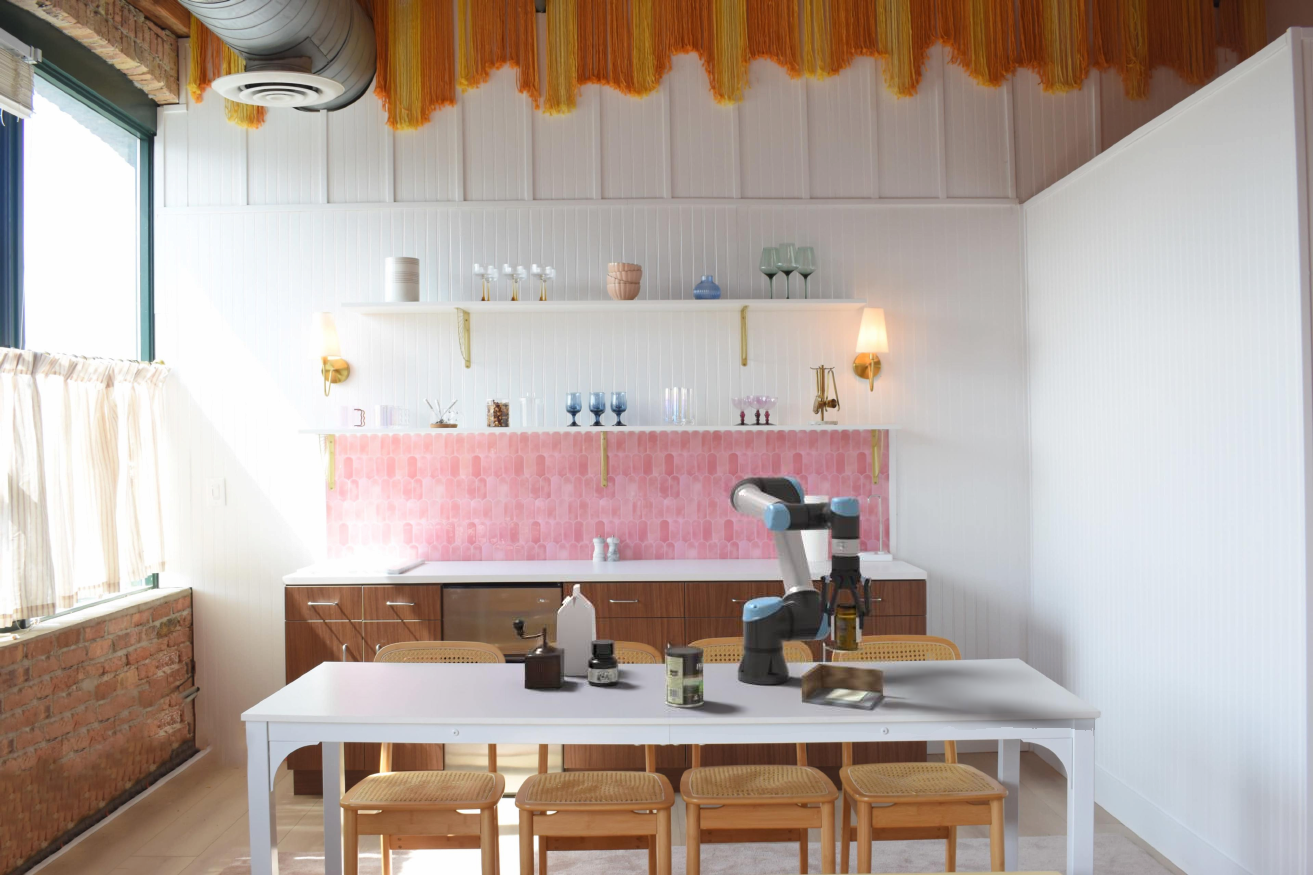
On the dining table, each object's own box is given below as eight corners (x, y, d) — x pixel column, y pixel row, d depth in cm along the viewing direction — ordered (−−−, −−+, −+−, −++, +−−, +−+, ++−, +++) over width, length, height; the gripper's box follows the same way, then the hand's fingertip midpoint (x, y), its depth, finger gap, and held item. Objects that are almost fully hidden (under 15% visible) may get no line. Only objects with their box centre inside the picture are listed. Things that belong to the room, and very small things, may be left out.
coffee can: (705, 698, 249) (705, 646, 249) (701, 708, 239) (700, 654, 239) (668, 696, 251) (668, 644, 251) (662, 706, 241) (661, 652, 241)
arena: (801, 702, 245) (801, 675, 245) (819, 688, 259) (818, 663, 259) (869, 710, 237) (869, 682, 237) (883, 695, 251) (882, 669, 251)
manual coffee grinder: (565, 679, 271) (565, 618, 271) (560, 689, 260) (560, 625, 260) (513, 679, 272) (513, 618, 272) (505, 688, 261) (505, 624, 261)
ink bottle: (585, 687, 262) (584, 644, 262) (587, 679, 271) (587, 638, 271) (619, 687, 262) (619, 644, 262) (620, 679, 271) (620, 638, 271)
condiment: (865, 649, 247) (864, 605, 247) (841, 653, 243) (840, 607, 243) (846, 645, 253) (846, 601, 254) (822, 648, 249) (822, 603, 249)
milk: (593, 675, 276) (593, 588, 276) (555, 675, 276) (555, 588, 277) (597, 666, 288) (597, 583, 288) (560, 666, 288) (560, 583, 289)
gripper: (807, 554, 249) (807, 639, 249) (877, 557, 241) (878, 646, 240) (815, 551, 256) (815, 635, 256) (884, 554, 248) (884, 640, 247)
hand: (846, 640), depth 248 cm, fingers closed on condiment, 6 cm apart
